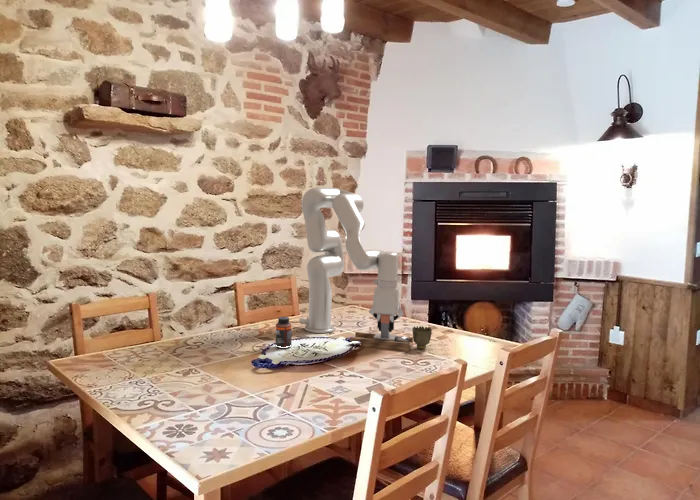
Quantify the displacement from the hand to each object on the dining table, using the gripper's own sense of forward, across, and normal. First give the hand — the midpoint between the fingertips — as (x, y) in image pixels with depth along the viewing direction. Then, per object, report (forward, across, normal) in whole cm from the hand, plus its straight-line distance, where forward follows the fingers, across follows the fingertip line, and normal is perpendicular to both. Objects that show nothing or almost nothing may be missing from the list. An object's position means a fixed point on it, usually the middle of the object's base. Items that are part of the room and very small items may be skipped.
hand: (385, 330), depth 217 cm
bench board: (+6, -1, 0) cm, 6 cm away
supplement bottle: (+6, -36, -16) cm, 40 cm away
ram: (+4, +3, 0) cm, 5 cm away
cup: (+6, +14, 0) cm, 15 cm away
